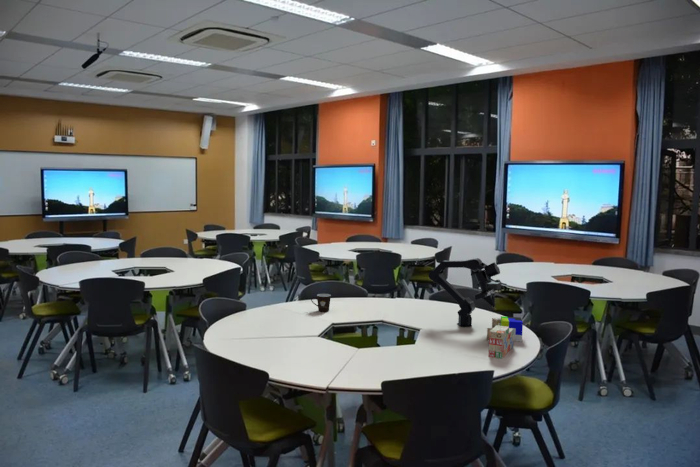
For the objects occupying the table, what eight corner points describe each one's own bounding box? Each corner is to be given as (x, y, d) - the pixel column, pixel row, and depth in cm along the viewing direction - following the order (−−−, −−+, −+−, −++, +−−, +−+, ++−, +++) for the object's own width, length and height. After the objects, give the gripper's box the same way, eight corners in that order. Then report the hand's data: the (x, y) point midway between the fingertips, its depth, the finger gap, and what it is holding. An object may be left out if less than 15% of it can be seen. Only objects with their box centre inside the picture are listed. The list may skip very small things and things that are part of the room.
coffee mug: (333, 310, 328) (333, 294, 328) (325, 313, 321) (325, 297, 320) (318, 308, 335) (318, 292, 334) (310, 310, 327) (310, 294, 327)
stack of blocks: (500, 345, 262) (501, 320, 261) (513, 347, 259) (514, 322, 257) (488, 356, 243) (489, 330, 242) (501, 359, 240) (502, 332, 239)
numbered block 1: (496, 331, 286) (496, 320, 286) (491, 328, 291) (492, 317, 291) (504, 330, 287) (505, 319, 287) (500, 328, 292) (500, 317, 292)
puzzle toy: (521, 341, 268) (522, 322, 267) (501, 340, 270) (502, 321, 269) (519, 336, 278) (520, 317, 277) (500, 334, 280) (500, 316, 279)
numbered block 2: (491, 342, 265) (492, 330, 265) (486, 339, 271) (487, 327, 270) (500, 342, 266) (501, 330, 266) (495, 339, 271) (496, 327, 271)
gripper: (484, 280, 278) (496, 307, 276) (503, 272, 290) (515, 298, 288) (468, 285, 286) (480, 312, 284) (487, 277, 298) (498, 303, 296)
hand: (494, 306), depth 288 cm, fingers closed
